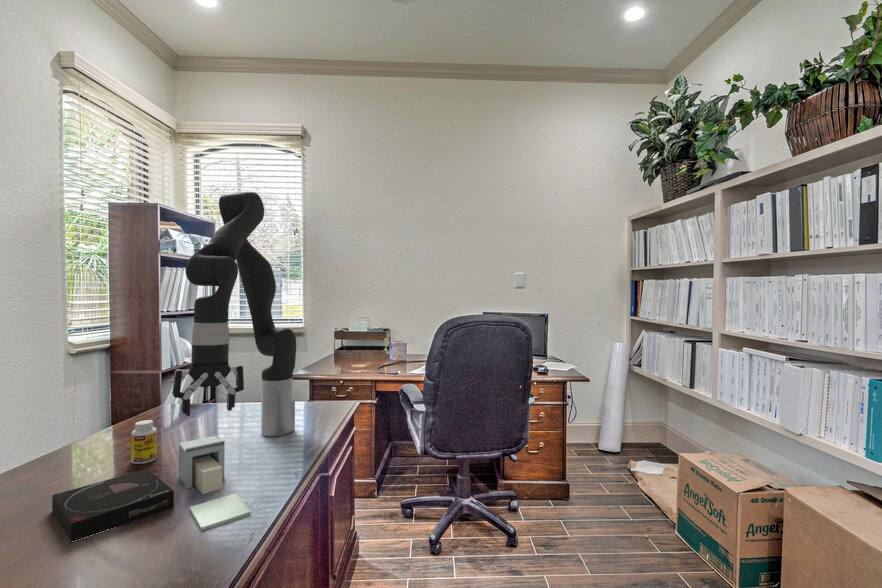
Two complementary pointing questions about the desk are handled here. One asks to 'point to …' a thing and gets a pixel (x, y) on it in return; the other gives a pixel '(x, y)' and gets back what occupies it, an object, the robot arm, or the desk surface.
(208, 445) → the dispenser
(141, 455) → the supplement bottle
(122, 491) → the portable cd player
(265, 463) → the desk surface
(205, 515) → the mat
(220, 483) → the beige rectangular block
